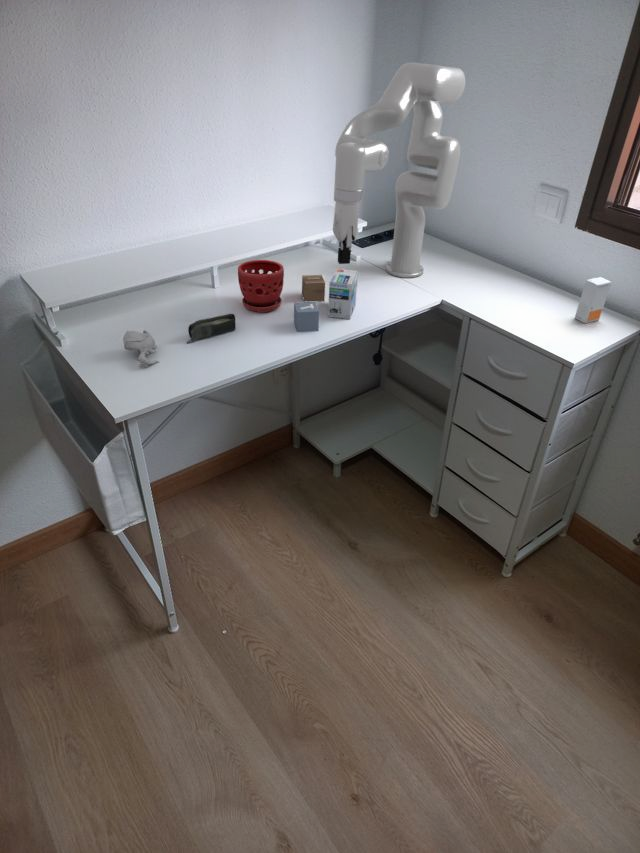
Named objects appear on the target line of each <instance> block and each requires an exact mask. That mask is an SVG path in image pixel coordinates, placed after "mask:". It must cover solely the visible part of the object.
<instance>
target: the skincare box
mask: <svg viewBox="0 0 640 853" xmlns="http://www.w3.org/2000/svg"><path fill="white" fill-rule="evenodd" d="M612 283H613V282H612V281H610V280H608V279H606V278H604V277H602V276H599V277H593V278H589V279H586V280H585V283H584V286H583V289H582V293H581V295H580V296H581V297H580V298H579V302H578V306H577V308H576V312H575V315H574V319H576V320H578V321H580V322H582V323H583V324H587V323H593V322H595V321H600V318H601V315H602V312H603V310H604V306H605V303H606V300H607V299H608V298H607V297H608V295H609V292H610V288H611V286H612Z"/></svg>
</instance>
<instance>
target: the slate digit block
mask: <svg viewBox="0 0 640 853" xmlns="http://www.w3.org/2000/svg"><path fill="white" fill-rule="evenodd" d="M319 322H320V310H319V307H318V305H317V302H305V301H304V302H303V301H302V302H294V303H293V324H294V327H295V330H296V333H306V332H319V330H320V329H319V327H320V326H319V325H320V324H319Z"/></svg>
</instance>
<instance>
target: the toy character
mask: <svg viewBox="0 0 640 853" xmlns="http://www.w3.org/2000/svg"><path fill="white" fill-rule="evenodd" d="M122 342H123V348H124V349H125V350H127V351H135V352H139V356H138V358H137V359H136V361H137V362H139V364H138V367H139V368H149V366H148V365H154V364H156V363H160V361H158V360H149V359H147V357H146V356H147V355H149V354H150V353H151V354H155V353H156V351H155V350H156V349H157V348H158V345H156V344H155V343H156V342H155V339H154V338H153V336H152V335H151V333H150V332H149V331H148V330H146V329H145V330H143V331H142V333H141V332H138V331H136V330H127V331H125V333H124V335H123V338H122Z"/></svg>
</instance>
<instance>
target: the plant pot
mask: <svg viewBox="0 0 640 853" xmlns="http://www.w3.org/2000/svg"><path fill="white" fill-rule="evenodd" d="M284 269H285V268H284V266H283V265H282V264H281V263H280V262H278V261H273V260H269V259H254V260H249V261H245V262H242V263H241V264H239V265H238V267H237V277H238V278H237V279H238V285H239V289H240V290H239V291H240V292H241V295H242V296H243V297H242V299H241V302H242V305H243V306H244V307H245V308H246V309H248V310H250V311H253V312H257V313H259V312H263V313H264V312H265V313H266V312H268V311H269V312H271V311H274V310H276V309H277V308H279V307H280V306H281V305H282V301H283V300H282V297H281V294H282V292H283V288H284V283H285V281H284V279H285V270H284ZM260 270H261V271H262V273H260ZM253 271H254V272H253ZM269 272H270V273H269Z"/></svg>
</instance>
